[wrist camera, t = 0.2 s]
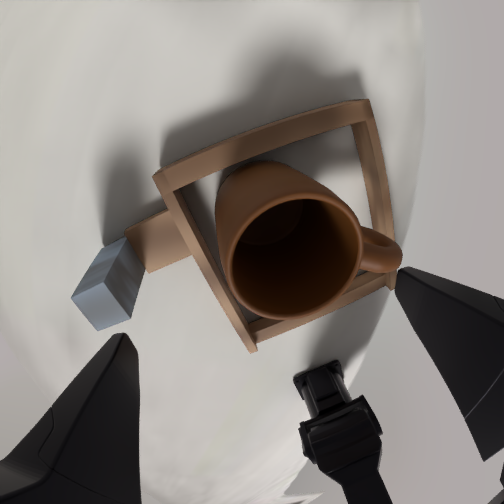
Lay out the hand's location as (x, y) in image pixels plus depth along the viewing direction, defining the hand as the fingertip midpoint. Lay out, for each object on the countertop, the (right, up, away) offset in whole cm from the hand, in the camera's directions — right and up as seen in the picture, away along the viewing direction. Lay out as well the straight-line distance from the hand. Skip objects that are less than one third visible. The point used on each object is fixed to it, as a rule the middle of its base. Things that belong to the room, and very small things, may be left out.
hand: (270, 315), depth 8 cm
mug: (+2, +6, +14) cm, 15 cm away
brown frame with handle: (0, +2, +15) cm, 15 cm away
